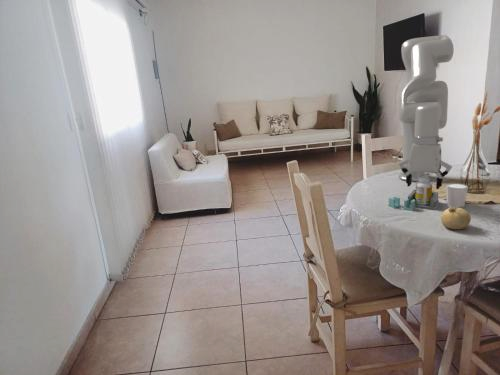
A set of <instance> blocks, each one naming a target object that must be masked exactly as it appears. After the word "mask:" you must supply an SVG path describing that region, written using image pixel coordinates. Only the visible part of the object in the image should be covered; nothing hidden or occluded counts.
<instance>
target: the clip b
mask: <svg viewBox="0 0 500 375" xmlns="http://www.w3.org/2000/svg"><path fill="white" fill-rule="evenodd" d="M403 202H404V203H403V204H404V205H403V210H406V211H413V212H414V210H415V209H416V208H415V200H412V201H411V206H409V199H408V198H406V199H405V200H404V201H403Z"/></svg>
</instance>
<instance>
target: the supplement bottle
mask: <svg viewBox="0 0 500 375" xmlns="http://www.w3.org/2000/svg"><path fill="white" fill-rule="evenodd" d="M415 190H416V193H415V202H416V203H417V204H422V205H426V204H430V199H431V197H432V192H433V183H431V176H419V177H418V181H416V182H415Z"/></svg>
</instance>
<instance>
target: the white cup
mask: <svg viewBox="0 0 500 375" xmlns="http://www.w3.org/2000/svg"><path fill="white" fill-rule="evenodd" d="M445 187H446V189H445V192H446V195H445V197H446V205H447V206H448V207H451V206H453V207H457V208H462V207H465V205H466V199H467V196H468V195H467V194H468V189H469V186H468V185H466V184H463V183H447V184H446V186H445Z"/></svg>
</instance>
